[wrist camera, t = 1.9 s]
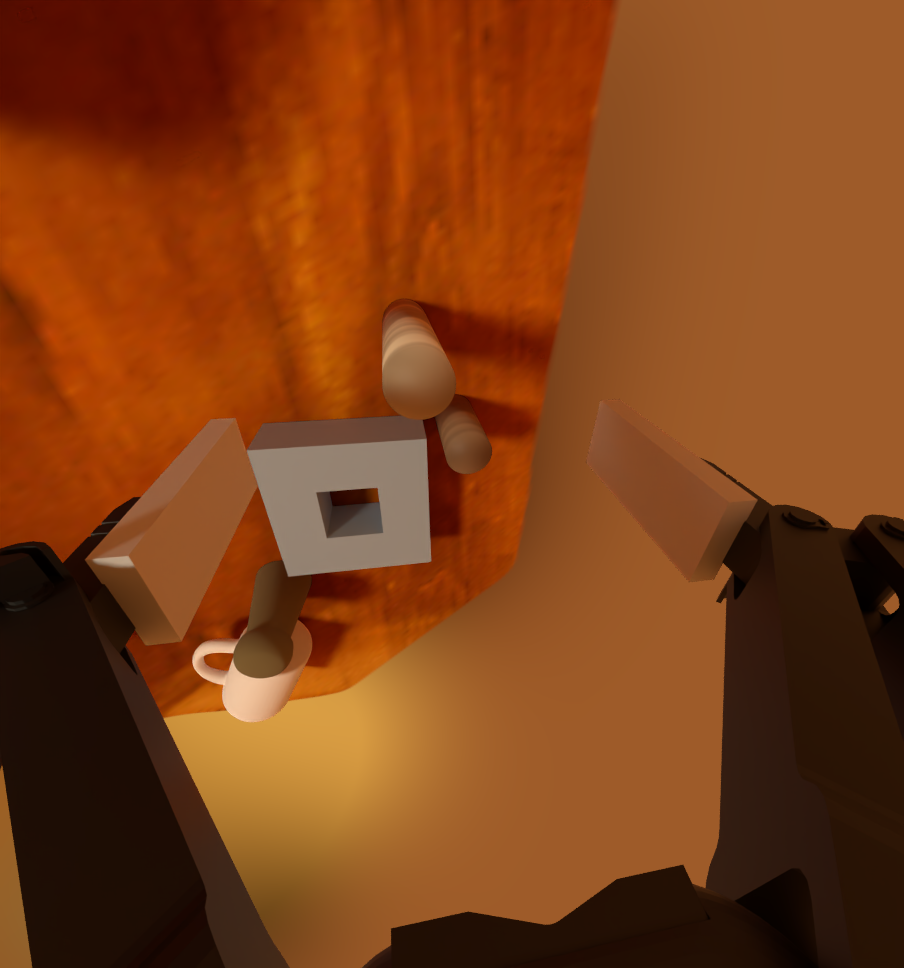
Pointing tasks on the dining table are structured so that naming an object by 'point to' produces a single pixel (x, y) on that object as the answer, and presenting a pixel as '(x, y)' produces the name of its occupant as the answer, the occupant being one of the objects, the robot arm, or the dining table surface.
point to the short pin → (463, 437)
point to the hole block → (345, 466)
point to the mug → (254, 694)
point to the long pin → (414, 363)
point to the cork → (271, 622)
